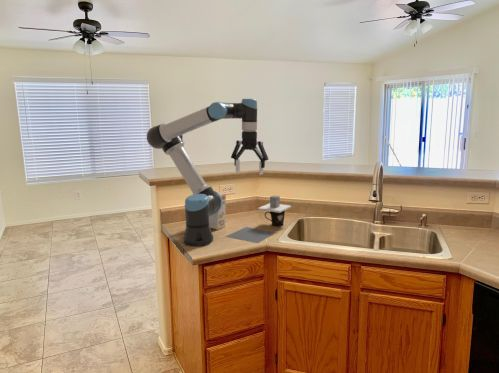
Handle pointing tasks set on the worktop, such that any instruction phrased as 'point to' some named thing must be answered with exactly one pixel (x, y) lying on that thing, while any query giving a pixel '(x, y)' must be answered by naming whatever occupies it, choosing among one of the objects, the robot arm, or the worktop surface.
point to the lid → (274, 205)
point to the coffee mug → (276, 218)
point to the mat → (251, 234)
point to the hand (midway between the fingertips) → (249, 173)
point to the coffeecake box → (218, 216)
